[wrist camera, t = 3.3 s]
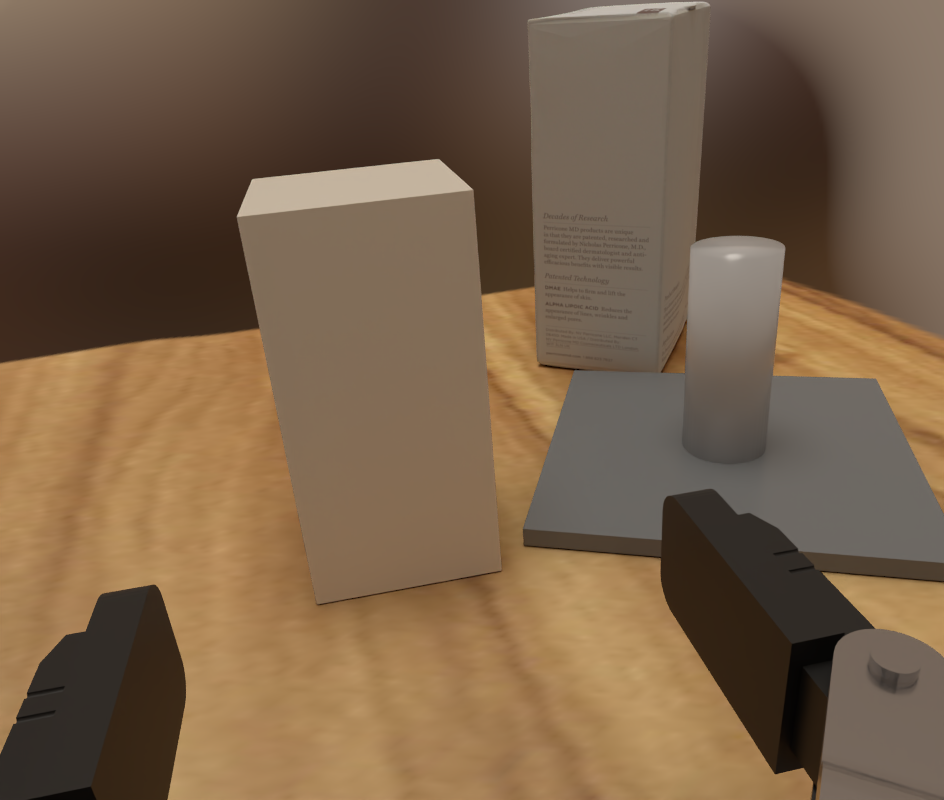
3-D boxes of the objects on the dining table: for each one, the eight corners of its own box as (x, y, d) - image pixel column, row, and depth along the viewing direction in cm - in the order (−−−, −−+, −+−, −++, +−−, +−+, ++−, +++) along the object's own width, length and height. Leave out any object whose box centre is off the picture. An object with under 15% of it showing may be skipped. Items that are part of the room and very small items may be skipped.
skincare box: (585, 311, 43) (580, 8, 36) (698, 318, 40) (714, -4, 34) (532, 371, 36) (516, 11, 30) (665, 384, 34) (677, -4, 27)
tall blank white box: (316, 604, 22) (236, 217, 17) (315, 504, 27) (252, 179, 22) (501, 570, 23) (473, 189, 18) (468, 478, 28) (438, 158, 23)
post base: (524, 545, 24) (509, 309, 21) (574, 382, 34) (570, 209, 31) (964, 583, 21) (1029, 314, 18) (873, 392, 31) (904, 201, 28)
